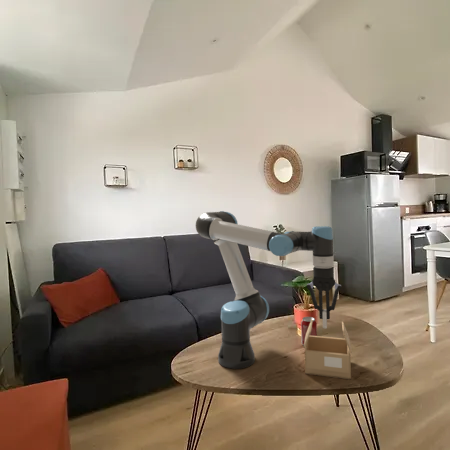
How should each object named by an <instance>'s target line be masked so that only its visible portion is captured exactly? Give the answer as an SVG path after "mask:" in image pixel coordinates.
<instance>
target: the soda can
mask: <svg viewBox="0 0 450 450" xmlns="http://www.w3.org/2000/svg"><path fill="white" fill-rule="evenodd" d="M311 319H312V320H313V321H312V328H311V333H310V335H311V336H318V332H317V330H318V328H317V327H318V325H317V321H316V319H315V317H314V316H313V317H312V316H304V317H302V320H301V322H300V328H301V329H300V330H301V331H300V332H301V336H300V338H301V345H303V346H304V342H305V336H306V333H307V330H308V327H309V325H310V322H311Z"/></svg>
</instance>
